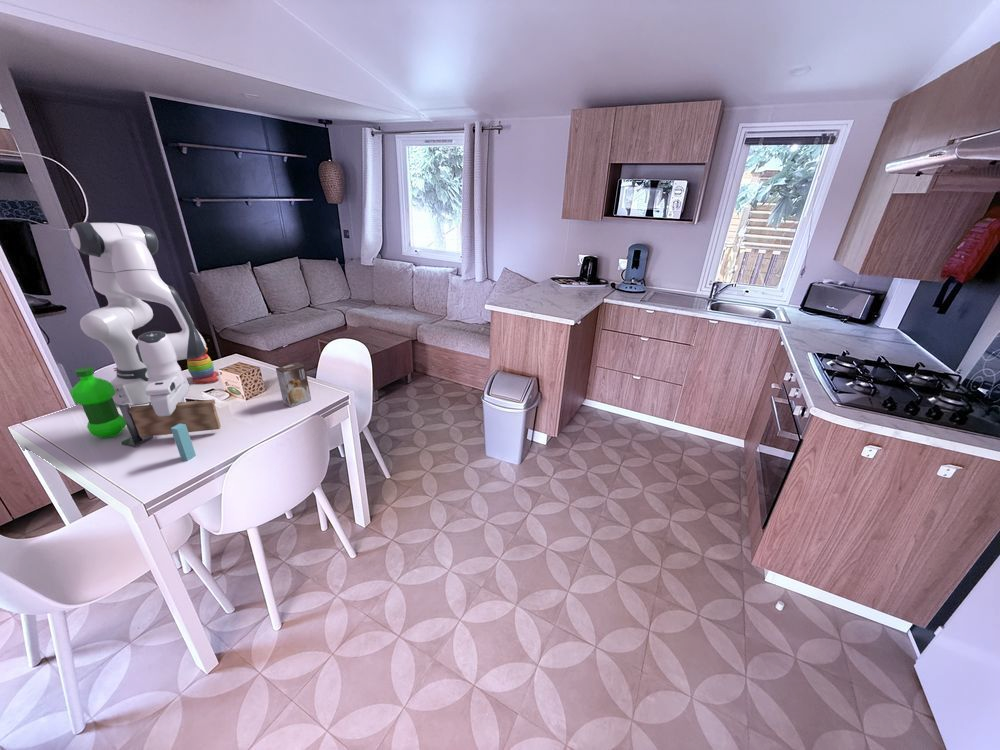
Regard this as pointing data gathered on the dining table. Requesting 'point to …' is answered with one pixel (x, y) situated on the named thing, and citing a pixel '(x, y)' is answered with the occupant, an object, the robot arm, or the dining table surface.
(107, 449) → the dining table surface
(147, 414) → the gate
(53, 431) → the dining table surface
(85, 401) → the plastic bottle
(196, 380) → the stacking bear
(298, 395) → the coffee box
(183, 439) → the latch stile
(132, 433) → the hinge post
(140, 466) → the dining table surface
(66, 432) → the dining table surface
